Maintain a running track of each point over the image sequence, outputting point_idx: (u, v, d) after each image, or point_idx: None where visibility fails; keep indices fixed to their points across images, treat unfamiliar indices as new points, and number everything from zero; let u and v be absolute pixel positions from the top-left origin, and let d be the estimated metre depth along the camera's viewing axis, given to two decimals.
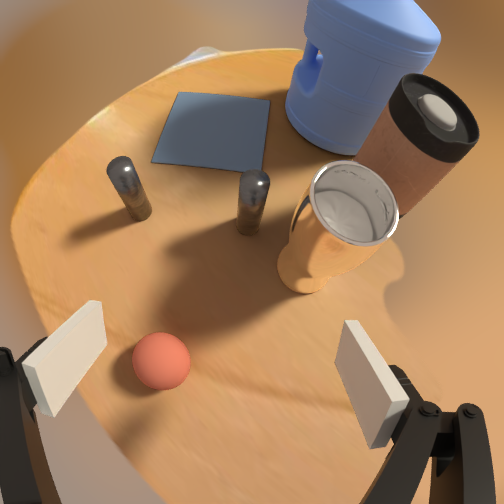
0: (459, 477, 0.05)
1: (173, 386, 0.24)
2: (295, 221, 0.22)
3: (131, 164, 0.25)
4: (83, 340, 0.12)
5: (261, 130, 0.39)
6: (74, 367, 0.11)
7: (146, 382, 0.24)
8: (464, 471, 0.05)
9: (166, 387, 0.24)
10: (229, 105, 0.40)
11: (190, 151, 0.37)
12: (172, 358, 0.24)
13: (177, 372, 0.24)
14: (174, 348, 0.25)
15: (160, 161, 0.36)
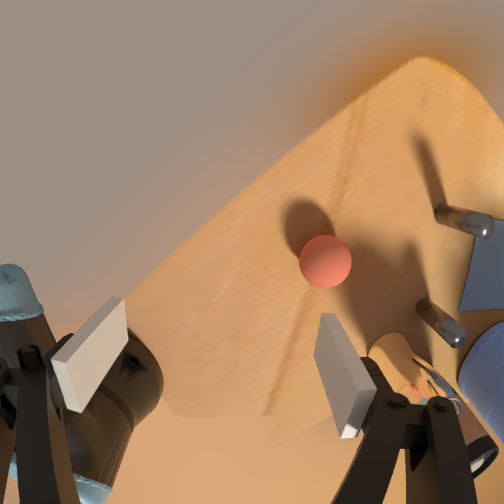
0: (434, 471, 0.06)
1: (305, 277, 0.30)
2: (430, 378, 0.25)
3: (487, 239, 0.24)
4: (108, 335, 0.13)
5: (489, 305, 0.36)
6: (100, 362, 0.12)
7: (309, 257, 0.29)
8: (439, 465, 0.06)
9: (305, 273, 0.30)
10: None
11: (483, 250, 0.33)
12: (334, 282, 0.29)
13: (321, 285, 0.30)
14: (341, 280, 0.29)
15: None
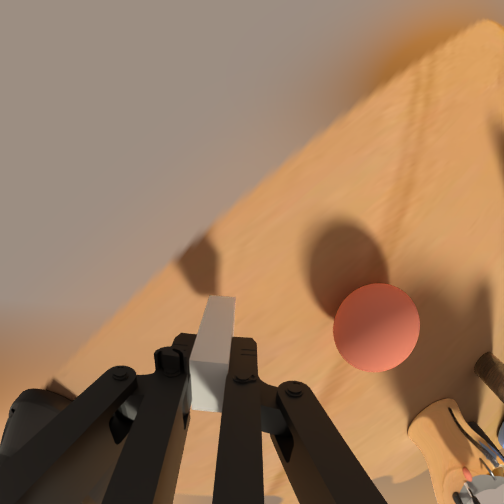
0: (310, 463, 0.07)
1: (344, 357, 0.16)
2: (497, 474, 0.11)
3: None
4: None
5: None
6: None
7: (356, 329, 0.15)
8: (312, 456, 0.07)
9: (346, 353, 0.16)
10: None
11: None
12: (393, 366, 0.15)
13: (370, 370, 0.16)
14: (402, 361, 0.16)
15: None
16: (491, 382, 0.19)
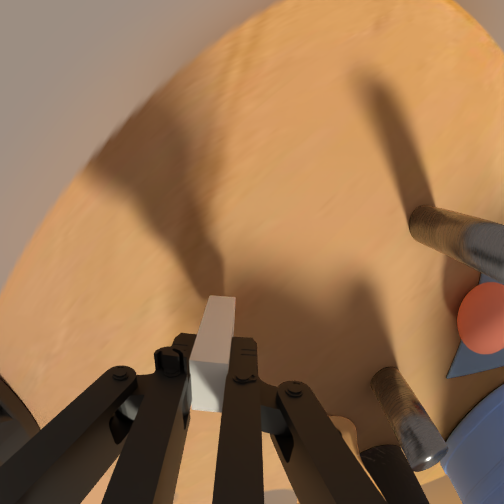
0: (310, 463, 0.07)
1: None
2: None
3: None
4: None
5: (497, 363, 0.21)
6: None
7: None
8: (312, 456, 0.07)
9: None
10: None
11: None
12: None
13: None
14: None
15: None
16: (383, 406, 0.18)
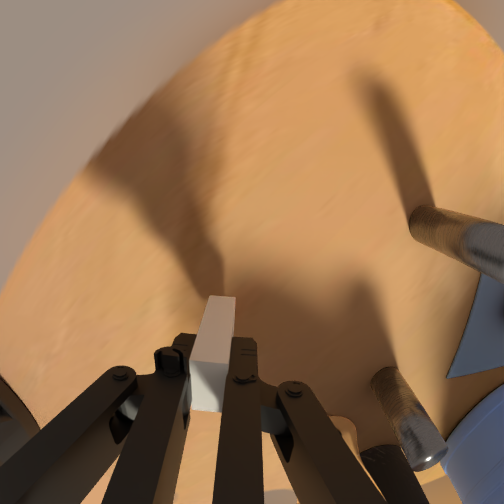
0: (310, 463, 0.07)
1: None
2: None
3: None
4: None
5: (497, 363, 0.21)
6: None
7: None
8: (312, 456, 0.07)
9: None
10: None
11: (495, 283, 0.19)
12: None
13: None
14: None
15: None
16: (383, 406, 0.18)
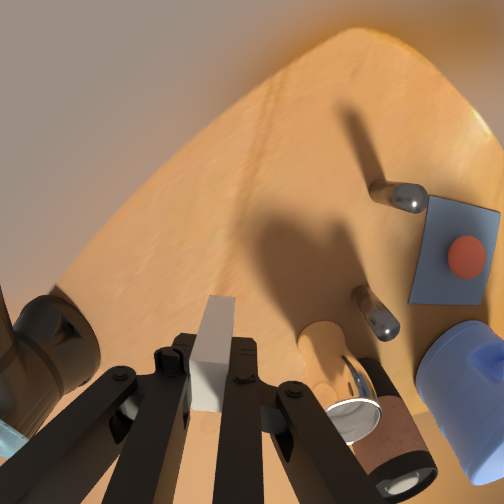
0: (310, 463, 0.07)
1: None
2: (343, 372, 0.25)
3: (417, 213, 0.23)
4: None
5: (450, 300, 0.35)
6: None
7: None
8: (312, 456, 0.07)
9: None
10: None
11: (437, 235, 0.33)
12: (449, 265, 0.32)
13: None
14: (452, 267, 0.31)
15: (429, 205, 0.32)
16: (359, 306, 0.32)
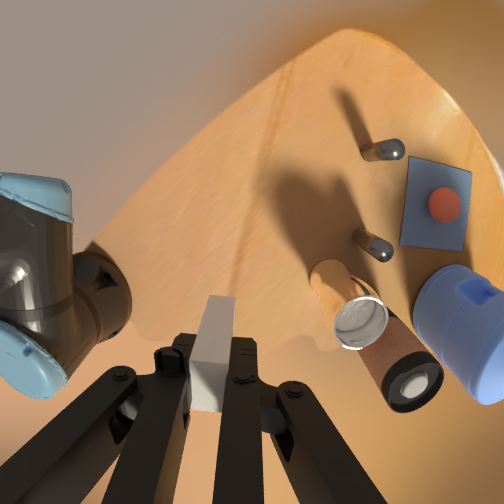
0: (310, 463, 0.07)
1: None
2: (353, 282, 0.33)
3: (398, 159, 0.32)
4: None
5: (435, 244, 0.43)
6: None
7: None
8: (312, 456, 0.07)
9: None
10: (458, 217, 0.42)
11: (418, 188, 0.41)
12: (430, 212, 0.40)
13: None
14: (432, 212, 0.39)
15: (410, 164, 0.40)
16: (359, 241, 0.40)
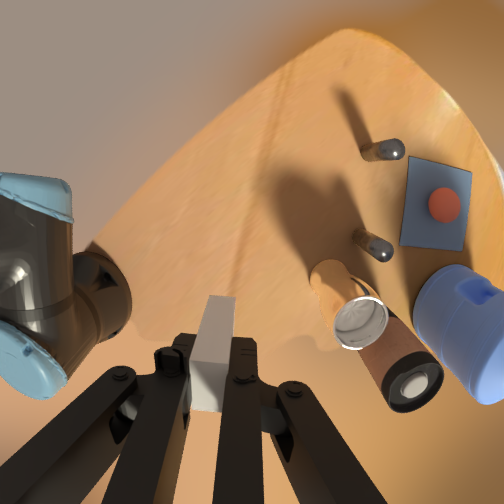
0: (310, 463, 0.07)
1: None
2: (353, 282, 0.33)
3: (398, 159, 0.32)
4: None
5: (435, 244, 0.43)
6: None
7: None
8: (312, 456, 0.07)
9: None
10: (458, 217, 0.42)
11: (418, 188, 0.41)
12: (430, 212, 0.40)
13: None
14: (432, 212, 0.39)
15: (410, 164, 0.40)
16: (359, 241, 0.40)
